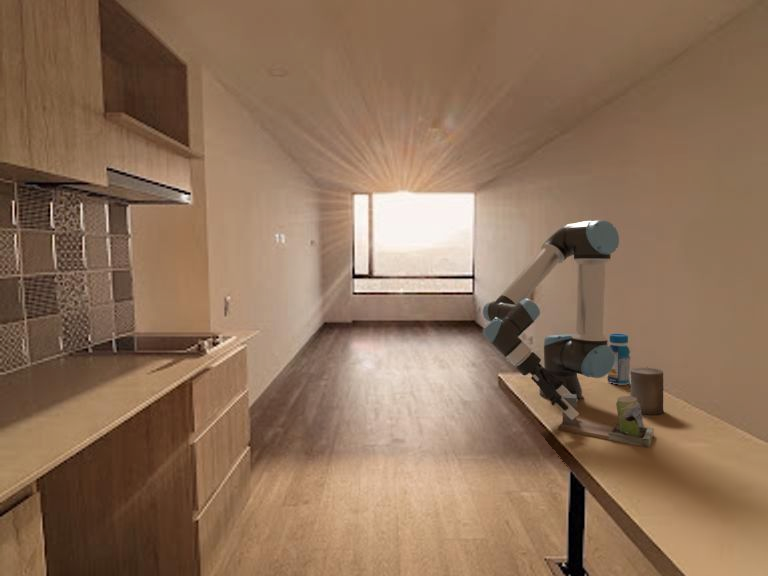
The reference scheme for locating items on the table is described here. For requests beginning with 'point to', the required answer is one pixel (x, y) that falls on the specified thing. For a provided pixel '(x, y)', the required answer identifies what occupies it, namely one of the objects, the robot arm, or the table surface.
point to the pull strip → (600, 428)
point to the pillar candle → (648, 389)
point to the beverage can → (630, 416)
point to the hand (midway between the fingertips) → (575, 409)
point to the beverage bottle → (620, 360)
